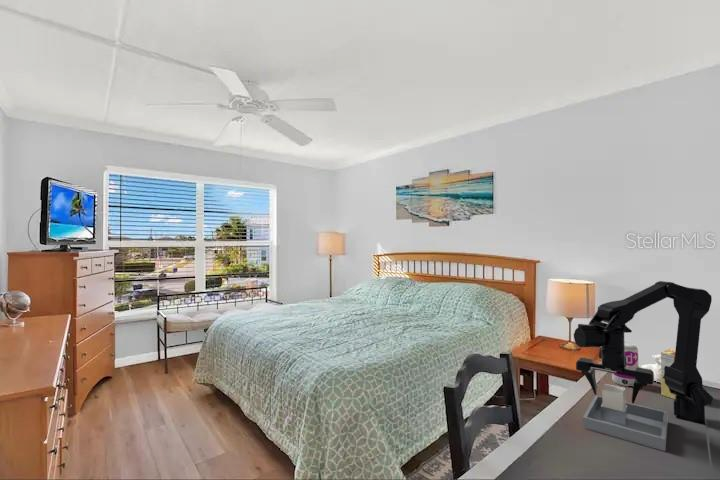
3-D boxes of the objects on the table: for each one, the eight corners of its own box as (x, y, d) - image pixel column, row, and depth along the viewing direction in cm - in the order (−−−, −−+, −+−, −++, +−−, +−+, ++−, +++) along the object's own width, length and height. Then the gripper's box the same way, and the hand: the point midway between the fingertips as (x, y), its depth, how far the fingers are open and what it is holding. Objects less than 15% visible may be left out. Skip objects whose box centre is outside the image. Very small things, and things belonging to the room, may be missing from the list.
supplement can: (643, 388, 131) (642, 347, 132) (618, 386, 133) (617, 346, 133) (631, 380, 139) (630, 341, 140) (608, 378, 141) (607, 340, 141)
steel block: (627, 418, 108) (627, 405, 108) (625, 426, 103) (625, 412, 103) (604, 412, 112) (603, 399, 112) (600, 419, 107) (600, 406, 107)
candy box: (672, 390, 129) (671, 347, 130) (687, 394, 126) (686, 350, 126) (660, 395, 125) (659, 351, 125) (676, 399, 121) (674, 354, 122)
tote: (667, 423, 105) (667, 411, 105) (665, 453, 90) (665, 439, 90) (595, 405, 117) (595, 395, 117) (583, 429, 102) (582, 417, 103)
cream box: (625, 404, 108) (625, 388, 108) (623, 411, 104) (622, 394, 104) (605, 400, 111) (605, 383, 111) (602, 406, 107) (602, 389, 107)
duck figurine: (681, 392, 133) (685, 364, 137) (676, 383, 129) (681, 355, 134) (641, 382, 143) (647, 356, 147) (636, 374, 139) (641, 348, 143)
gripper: (654, 346, 108) (655, 398, 107) (582, 336, 120) (583, 383, 120) (652, 355, 99) (653, 411, 99) (575, 343, 112) (576, 393, 111)
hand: (613, 398), depth 107 cm, fingers open, 9 cm apart
